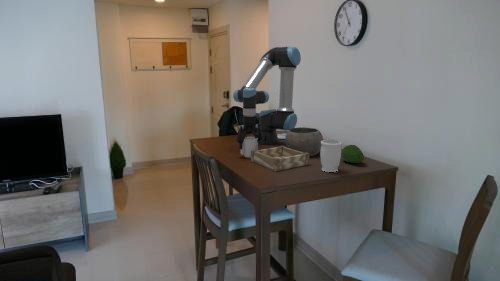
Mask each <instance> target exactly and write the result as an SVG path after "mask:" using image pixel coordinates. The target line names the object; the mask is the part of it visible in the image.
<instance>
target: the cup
mask: <svg viewBox="0 0 500 281" xmlns="http://www.w3.org/2000/svg"><path fill="white" fill-rule="evenodd" d="M257 139H258V138H257ZM257 139H256V138H254V136H246V137H245V139H244V141H243V144H244V155H243V156H244V158H247V159H249V158H250V159H251V150H256V145H257Z"/></svg>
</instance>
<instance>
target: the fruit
mask: <svg viewBox="0 0 500 281" xmlns="http://www.w3.org/2000/svg"><path fill="white" fill-rule="evenodd" d="M341 158H342V159H343V161H345V162H347V163H349V162H350V163H349V164H356V163H361V162H363V161H364V160H365V156H364V153H363V151H362V150H361V149H360V148H359V146H357V145H356V144H349V145H345V146H344V147H343V148H342V149H341Z"/></svg>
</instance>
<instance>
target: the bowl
mask: <svg viewBox="0 0 500 281" xmlns="http://www.w3.org/2000/svg"><path fill="white" fill-rule="evenodd" d="M321 141H324V137H323V134H322V132H321V131H320V130H319V129H318V128H313V127H294V128H292V129H290V130H289V131H288V130H287V131H286V134H285V140H284V142H285V147H286V148H290V149H293V150H297V151H300V152H303V153H306V152H307V153H310V154H309V158H310V157H314V156H317V155H318V154H320V150H321V146H322V144H321Z"/></svg>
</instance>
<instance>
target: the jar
mask: <svg viewBox="0 0 500 281" xmlns="http://www.w3.org/2000/svg"><path fill="white" fill-rule="evenodd" d="M342 143H343V142H341V141H340V140H335V139H334V140H332V139H326V140H325V139H323V141H321V144H322V146H321V150H320V152H319V156H320V164H321V166H322V167H321V171H323V172H324V171H325V172H324V173H329V172H334V173H337V172H338V171H339V169H338V168H339V166H340V163H341V158H342V155H341V152H342V147H341V146H342ZM336 171H337V172H336Z"/></svg>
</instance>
